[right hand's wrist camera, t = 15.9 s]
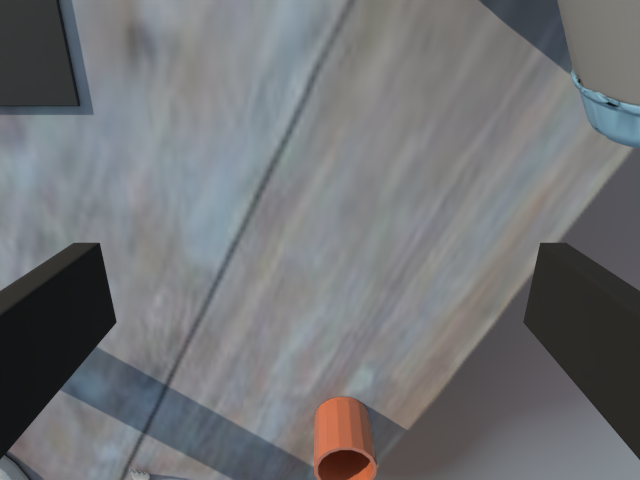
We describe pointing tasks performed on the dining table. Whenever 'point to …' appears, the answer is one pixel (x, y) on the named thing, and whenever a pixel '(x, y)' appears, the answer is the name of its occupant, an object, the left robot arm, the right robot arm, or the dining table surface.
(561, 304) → the right robot arm
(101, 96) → the dining table surface
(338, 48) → the dining table surface
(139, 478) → the fork
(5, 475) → the wall clock
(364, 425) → the terracotta pot
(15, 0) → the dark rubber mat
